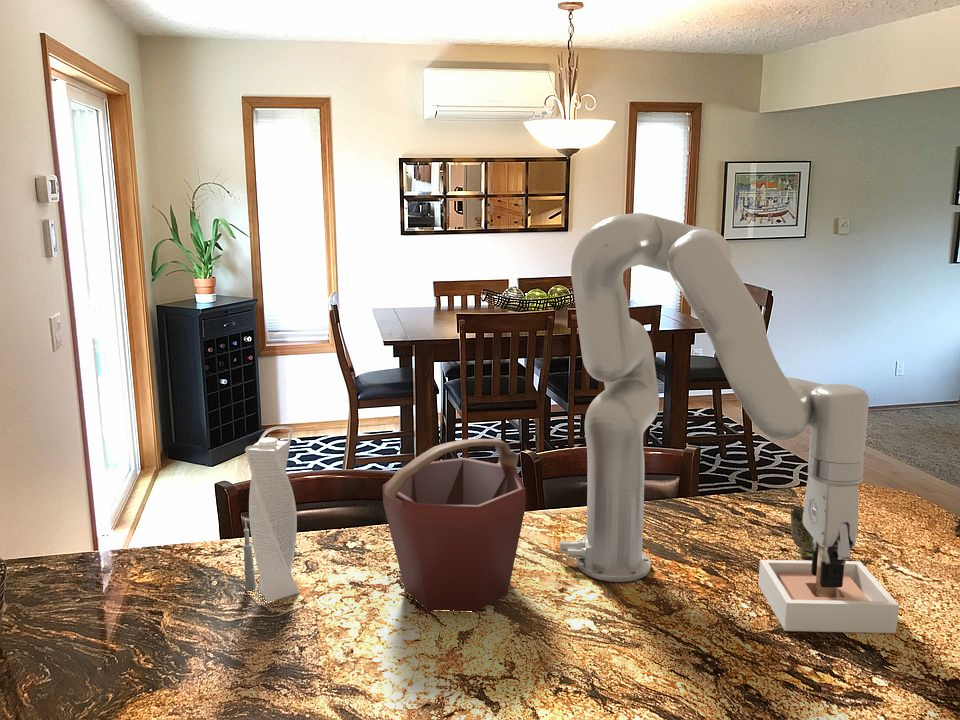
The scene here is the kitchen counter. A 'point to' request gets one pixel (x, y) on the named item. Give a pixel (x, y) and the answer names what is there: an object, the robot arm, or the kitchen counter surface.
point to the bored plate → (805, 583)
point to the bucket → (456, 525)
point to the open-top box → (829, 602)
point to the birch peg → (819, 589)
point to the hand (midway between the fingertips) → (826, 579)
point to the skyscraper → (270, 520)
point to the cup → (801, 534)
